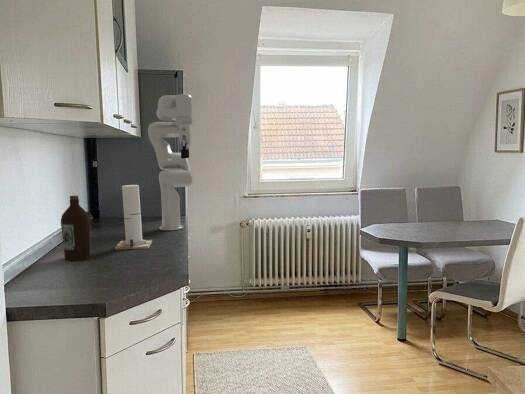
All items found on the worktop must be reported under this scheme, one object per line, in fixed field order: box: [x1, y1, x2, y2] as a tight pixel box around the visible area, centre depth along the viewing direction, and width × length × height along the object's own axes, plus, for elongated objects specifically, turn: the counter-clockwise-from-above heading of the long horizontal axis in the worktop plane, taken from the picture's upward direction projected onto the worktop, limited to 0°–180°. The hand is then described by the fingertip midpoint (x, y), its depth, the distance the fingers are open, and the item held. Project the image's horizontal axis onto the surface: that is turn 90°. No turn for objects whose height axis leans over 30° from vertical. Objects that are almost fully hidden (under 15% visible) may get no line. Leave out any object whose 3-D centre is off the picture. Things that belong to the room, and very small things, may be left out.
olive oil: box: [60, 195, 91, 262], centre depth 183 cm, size 11×11×25 cm
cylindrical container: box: [121, 184, 144, 243], centre depth 204 cm, size 7×7×25 cm
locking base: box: [114, 239, 153, 251], centre depth 206 cm, size 14×14×4 cm
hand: (185, 158), depth 218 cm, fingers open, 9 cm apart
